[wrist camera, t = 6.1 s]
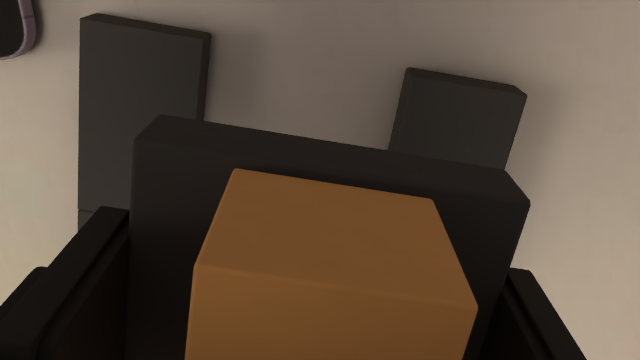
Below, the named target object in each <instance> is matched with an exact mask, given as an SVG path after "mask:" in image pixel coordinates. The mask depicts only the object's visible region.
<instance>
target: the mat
mask: <svg viewBox="0 0 640 360" xmlns="http://www.w3.org/2000/svg"><path fill="white" fill-rule="evenodd" d="M210 45H211V33H207V32H201V31H196V30H190V29H184V28H178V27H173V26H167V25H161V24H155V23H149V22H144V21H138V20H132V19H126V18H121V17H115V16H109V15H103V14H97V13H96V14H92V15H89V16H86V17H83V18H80V63H79V153H78V209H79V210H78V231H79V230H80V229H81V228H82V227H83V225H84V224H85V223H86V222H87V221H88V220H89V218H90V217H91V216H92V215H93V214H94V213H95V211H96V210H97V209H98V208H99V207H100V206H108V207H115V208H121V209H128V210H130V192H131V171H132V149H133V141H134V139H135V137H136V136H137V135H138V134H139V133H140V132H141V131H142V130H143V129H144V128H145V127H146V126H147V125H148V124H149V123H150V122H151V121H152V120H153V119H154V118H155V117H156V116H157V115H160V114H164V115H171V116H177V117H183V118H189V119H195V120H201V121H203V117H204V107H205V96H206V86H207V76H208V65H209V55H210ZM526 99H527V95H526V94H525V93H524V92H522V91H521V90H520V89H518V88H517V87H515V86H513V85H507V84H501V83H496V82H490V81H484V80H478V79H473V78H467V77H461V76H455V75H449V74H444V73H438V72H432V71H426V70H421V69H415V68H407V69H406V73H405V77H404V82H403V86H402V90H401V95H400V99H399V104H398V108H397V112H396V117H395V121H394V125H393V130H392V134H391V139H390V143H389V147H388V151H393V152H399V153H405V154H412V155H418V156H424V157H430V158H436V159H443V160H449V161H455V162H461V163H467V164H473V165H480V166H486V167H492V168H498V169H503V170H504V169H505V166H506V163H507V160H508V157H509V153H510V150H511V147H512V144H513V141H514V137H515V134H516V131H517V128H518V125H519V121H520V118H521V115H522V112H523V109H524V105H525V102H526Z"/></svg>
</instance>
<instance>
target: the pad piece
mask: <svg viewBox="0 0 640 360" xmlns="http://www.w3.org/2000/svg"><path fill="white" fill-rule="evenodd" d="M529 208H530V200H529V199H528V198H527V196H526V195H525V194H524V193H523V191H522V190H521V189H520V188H519V186H518V185H517V184H516V183H515V182H514V180H513V179H512V178H511V177H510V175H509V174H508V173H507V172H506V171H505V170H503V169H498V168H492V167H486V166H480V165H473V164H467V163H461V162H455V161H449V160H443V159H436V158H430V157H424V156H418V155H412V154H405V153H399V152H393V151H387V150H381V149H375V148H368V147H362V146H356V145H350V144H344V143H337V142H331V141H325V140H319V139H313V138H307V137H300V136H294V135H288V134H282V133H276V132H269V131H263V130H257V129H251V128H245V127H239V126H232V125H226V124H220V123H214V122H208V121H201V120H195V119H189V118H183V117H177V116H171V115H164V114H160V115H157V116H156V117H155V118H154V119H153V120H152V121H151V122H150V123H149V124H148V125H147V126H146V127H145V128H144V129H143V130H142V131H141V132H140V133H139V134H138V135H137V136H136V137H135V139H134V141H133V149H132V171H131V192H130V213H129V247H128V268H127V289H126V310H125V331H124V352H123V360H478V359H479V356H480V353H481V350H482V347H483V344H484V341H485V338H486V335H487V332H488V329H489V326H490V323H491V320H492V317H493V314H494V311H495V308H496V305H497V302H498V299H499V296H500V293H501V291H502V288H503V285H504V283H505V280H506V277H507V274H508V271H509V268H510V265H511V262H512V259H513V256H514V253H515V250H516V247H517V244H518V241H519V238H520V235H521V232H522V229H523V226H524V223H525V220H526V217H527V214H528V211H529Z"/></svg>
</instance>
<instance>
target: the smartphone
mask: <svg viewBox="0 0 640 360" xmlns="http://www.w3.org/2000/svg"><path fill="white" fill-rule="evenodd" d="M35 38H36V25H35V19H34V14H33V9H32V4H31V0H0V60H5V59H10V58H13V57H16V56H19V55H22V54H24V53H26V52H27V51H28V50H30V48H31V47H32V46H33V44H34V41H35Z"/></svg>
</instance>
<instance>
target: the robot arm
mask: <svg viewBox="0 0 640 360" xmlns="http://www.w3.org/2000/svg"><path fill="white" fill-rule="evenodd" d="M129 213H130V210H128V209H121V208H115V207H108V206H100V207H99V208H98V209H97V210H96V211H95V213H94V214H93V215H92V216H91V217H90V218H89V220H88V221H87V222H86V223H85V224H84V225H83V227H82V228H81V229H80V230H79V231H78V232H77V234H76V235H75V236H74V237H73V238H72V239H71V241H70V242H69V243H68V244H67V245H66V246H65V248H64V249H63V250H62V251H61V252H60V253H59V255H58V256H57V257H56V258H55V259H54V260H53V262H52V263H51V264H50V265H49V266H48V267H42V266H41V267H36V268H35V269H34V270H33V271H32V272H31V273H30V274H29V275H28V276H27V277H26V278H25V279H24V280H23V282H22V283H21V284H20V285H19V286H18V287H17V288H16V289H15V290H14V292H13V293H12V294H11V295H10V296H9V297H8V298H7V299H6V301H5V302H4V303H3V304H2V305H1V306H0V360H123V352H124V331H125V310H126V289H127V268H128V247H129ZM478 360H587V359H586V358H585V356H584V355H583V353H582V351H581V350H580V348H579V347H578V345H577V344H576V342H575V340H574V339H573V337H572V336H571V334H570V332H569V331H568V329H567V328H566V326H565V325H564V323H563V321H562V320H561V318H560V317H559V315H558V314H557V312H556V310H555V309H554V307H553V306H552V304H551V303H550V301H549V299H548V298H547V296H546V295H545V293H544V291H543V290H542V288H541V287H540V285H539V284H538V282H537V280H536V279H535V277H534V276H533V274H532V273H531V272H530V271H529V270H523V269H517V268H509V271H508V274H507V277H506V280H505V283H504V285H503V288H502V291H501V293H500V296H499V299H498V302H497V305H496V308H495V311H494V314H493V317H492V320H491V323H490V326H489V329H488V332H487V335H486V338H485V341H484V344H483V347H482V350H481V353H480V356H479V359H478Z"/></svg>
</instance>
